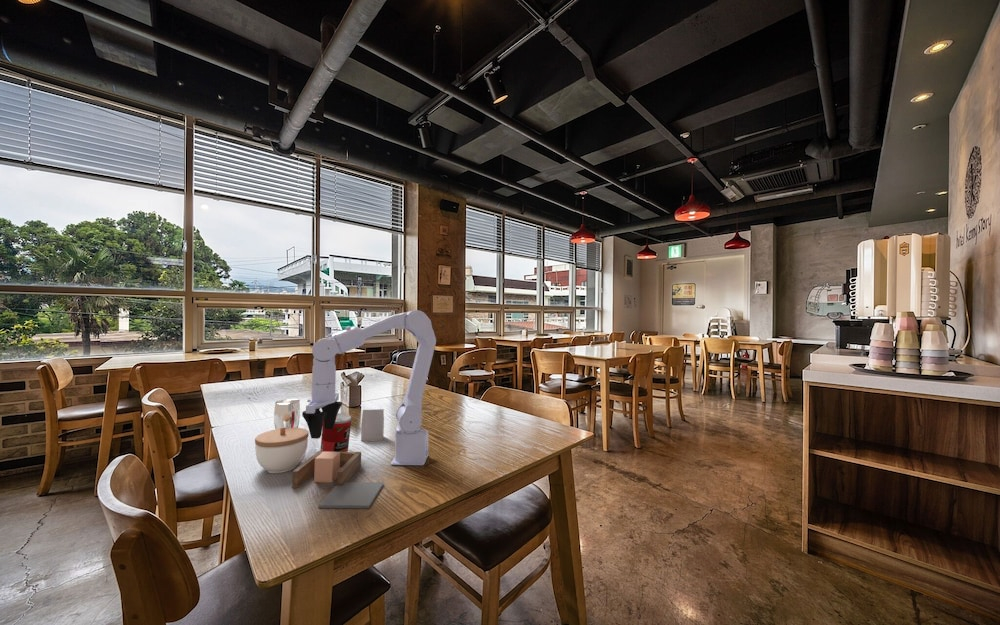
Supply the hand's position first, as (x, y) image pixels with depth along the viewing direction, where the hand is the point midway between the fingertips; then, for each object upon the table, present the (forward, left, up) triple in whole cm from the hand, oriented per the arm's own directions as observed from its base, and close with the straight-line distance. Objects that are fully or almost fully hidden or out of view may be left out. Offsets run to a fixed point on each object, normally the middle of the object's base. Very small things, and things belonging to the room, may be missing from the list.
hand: (322, 433), depth 98 cm
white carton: (+18, -15, -10) cm, 25 cm away
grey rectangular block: (-5, -26, -11) cm, 29 cm away
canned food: (+2, -12, -10) cm, 16 cm away
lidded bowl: (+12, -2, -11) cm, 16 cm away
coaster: (-13, +13, -10) cm, 21 cm away
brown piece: (-3, +3, -10) cm, 11 cm away
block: (-3, +4, -10) cm, 12 cm away
